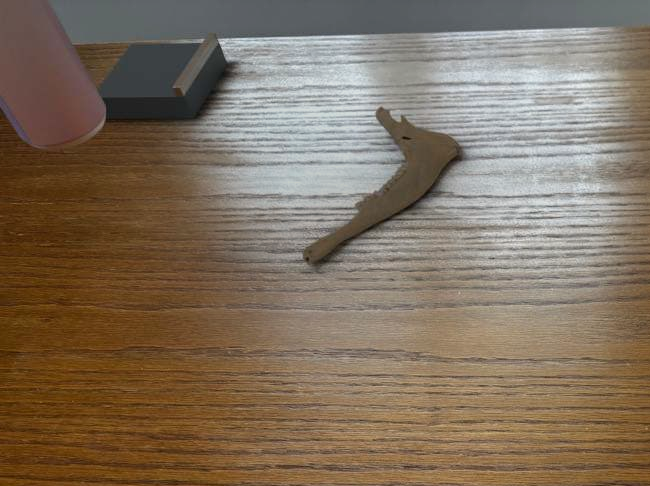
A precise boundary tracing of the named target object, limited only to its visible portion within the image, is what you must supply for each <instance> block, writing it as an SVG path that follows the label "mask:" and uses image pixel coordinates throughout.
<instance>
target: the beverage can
mask: <svg viewBox="0 0 650 486" xmlns="http://www.w3.org/2000/svg"><path fill="white" fill-rule="evenodd" d="M97 89H98V87H96V85H95V83H94V81H93V79H92V77H91V76H90V73H89V72H88V70H87V68H86V66H85V64H84V63H83V60H82V58H81V57H80V55H79V52H78V51H77V49H76V47H75V46H74V43H73V42H72V40H71V38H70V37H69V34H68V33H67V31H66V29H65V27H64V25H63V24H62V21H61V19H60V18H59V16H58V14H57V12H56V10H55V9H54V7H53V5H52V3H51V1H50V0H0V109H1V110H2V112H3V113H4V115H5V116H6V118H7V119H8V121H9V123H10V125H11V126H12V127H13V129H14V131H15V132H16V133H17V135H18V136H19V138H20V139H21V140H22V141H23V142H25V143H26V144H29V145H30V146H31V147H34V148H36V149H39V150H43V151H59V150H61V151H62V150H66V149H70V148H73V147H75V146H76V147H77V146H78V145H81V144H83V143H85V142H86V141H88V140H90V139H92V138H94V137H95V136H96V135H97V134H98V133H99V132H100V131H101V130H102V128H103V127H104V124H105V122H106V119H105V118H106V106H105V103H104V101H103V100H102V98H101V96H100V94H99V92H98V90H97Z"/></svg>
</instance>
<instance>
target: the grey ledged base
mask: <svg viewBox="0 0 650 486" xmlns="http://www.w3.org/2000/svg"><path fill="white" fill-rule="evenodd" d="M228 65H229V64H228V61H227V59H226V56H225V53H224V51H223V48H222V46H221V44H220V41H219V39H218V36H217V33H216V32H214V33H213V32H209V33H207V34H206V36H205V38H204V39H203V41H202V42H175V43H174V42H171V43H132V44H130V45H129V47H128V48H127V49H126V51H125V52H124V53H123V55H122V56H121V57H120V59H119V60H118V61H117V63H116V64H115V65H114V67H112V69H111V71H109V73H108V74H107V76H106V77H105V78H104V80H102V82H101V83H100V85H99V86H98V87H97V90H98V92H99V94H100V96H101V98H102V100H103V101H104V103H105V106H106V118H105V120H154V119H155V120H168V119H172V120H173V119H174V120H175V119H176V120H177V119H179V120H180V119H183V120H185V119H186V120H187V119H188V120H189V119H195V118H196V117H197V115H198V113H199V112H200V110H201V109H202V107H203V105H204V103H205V102H206V100H207V99H208V97H209V96H210V94H211V92H212V91H213V89H214V87H215V86H216V84H218V83H217V82H218V81H219V79H220V78H221V76H222V74H223V73H224V71H225V70H226V68H227V66H228Z"/></svg>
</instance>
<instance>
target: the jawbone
mask: <svg viewBox="0 0 650 486" xmlns="http://www.w3.org/2000/svg"><path fill="white" fill-rule="evenodd" d="M374 115H375V118H376V120H377V122H378V123H379V124H380V125H381V126H382V127H383V129H385V131H386V132H387V133H388V134H389V135H390V136H391V137H392V138H393V139H394V140H395V142H397V145H398V146H399V148H400V150H401V153H402V155H403V157H404V162H403V163H401V164H400V166H399V167H397V170H396V171H395V172H394V174H393V175H391V178H390V179H388V180H387V182H385V183H384V184H382V186H381V188H379V189H378V190H377V189H376V190H374V191H373V194H369V195H366V196H365V197H364V198H363V200H360V201H357V202H356V203H354V207H355V209H357V210H358V212H357V214H356V215H355V216H353V218H351V219H350V220H349V221H348V222H346V223H345V224H344V225H342V226H341V227H339V228H337V229H336V230H334V231H333V232H331V233H329V234H327V235H325V236H323V237H321V238H320V239H317V240H316V241H314V242H313V243H311V244H309V245H306V246H305V248H304V250H302V259H303V260H304V261H305V263H307V264H306V265H307V266H309V265H311V264H313V263H315V262H318V261H319V260H321V259H323V258H324V257H325V256H327V255H328V254H331V252H332V251H333V250H334V249H335V248H336V247H338V245H340V244H341V243H342V242H343V241H346V240H347V239H350V238H352V237H355V236H356V235H358V234H360V233H362V232H363V231H365V230H367V229H368V228H370V227H372V226H374V225H377V224H379V223H381V222H382V221H383V220H387V219H388V218H390V217H392V216H393V215H396V214H397V213H398V212H400V211H402V210H404V209H405V208H408V207H409V206H410V205H412V204H413V203H415V202H417V201H418V200H419V199H421V198H422V197H423V196H424V195H425V194H426V192H428V190H430V188H431V187H432V186H433V185H434V183H435V182H436V180H437V179H438V177H439V175H440V173H441V171H442V170H443V168H445V166H446V165H447V164H448V163H449V162H451V160H453V159H454V158H455V157H457V156H458V155H459V153H460V143H459V141H457V140H456V139H455V138H454V137H453V136H450V135H448V134H447V133H444V132H438V131H431V130H427V129H423V128H420V127H417V126H415V125H414V124H412V123H411V122H410V121H409V120H408V119H407V118H406V116H405V115H403V114H401V115H400V121H398V120H396V119H394V118H393V116H391V110H390V109H386V108H384V106H379V107H378V108H377V109H376V110H375V114H374Z"/></svg>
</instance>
